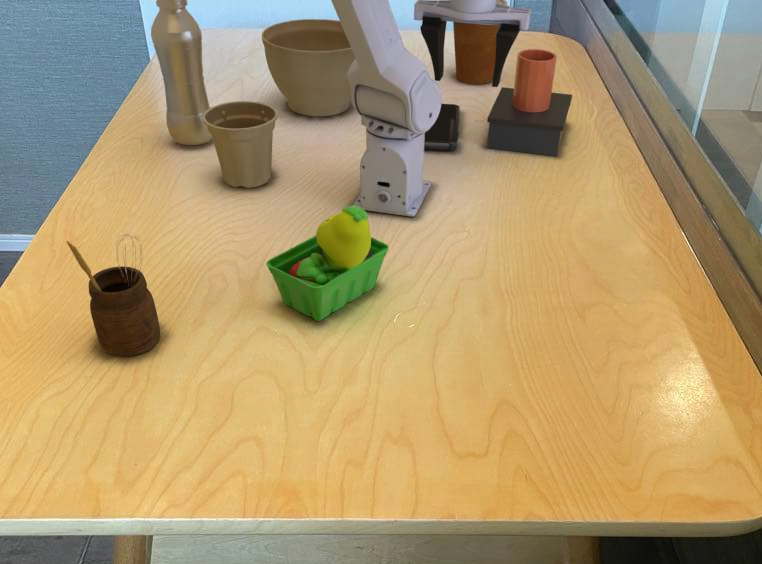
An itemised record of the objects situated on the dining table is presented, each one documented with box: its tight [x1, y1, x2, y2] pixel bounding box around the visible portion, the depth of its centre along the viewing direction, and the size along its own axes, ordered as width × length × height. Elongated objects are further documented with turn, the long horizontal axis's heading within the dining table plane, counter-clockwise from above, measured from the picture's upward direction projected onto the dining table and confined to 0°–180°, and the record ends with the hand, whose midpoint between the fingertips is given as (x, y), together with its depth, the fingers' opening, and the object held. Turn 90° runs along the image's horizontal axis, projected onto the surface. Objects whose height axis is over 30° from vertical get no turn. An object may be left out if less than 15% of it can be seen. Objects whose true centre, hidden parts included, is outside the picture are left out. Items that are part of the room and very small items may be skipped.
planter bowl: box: [261, 18, 356, 117], centre depth 124 cm, size 16×16×11 cm
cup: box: [513, 48, 558, 112], centre depth 115 cm, size 5×5×7 cm
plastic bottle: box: [150, 0, 213, 146], centre depth 110 cm, size 6×7×20 cm
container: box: [486, 86, 573, 157], centre depth 119 cm, size 13×11×4 cm
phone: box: [424, 103, 461, 152], centre depth 121 cm, size 8×1×15 cm
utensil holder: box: [66, 233, 161, 357], centre depth 76 cm, size 6×6×12 cm
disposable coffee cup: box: [452, 0, 508, 85], centre depth 135 cm, size 10×10×12 cm
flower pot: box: [202, 100, 279, 189], centre depth 105 cm, size 9×9×9 cm
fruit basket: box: [266, 205, 390, 322], centre depth 83 cm, size 11×9×11 cm
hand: (467, 81), depth 108 cm, fingers open, 7 cm apart
